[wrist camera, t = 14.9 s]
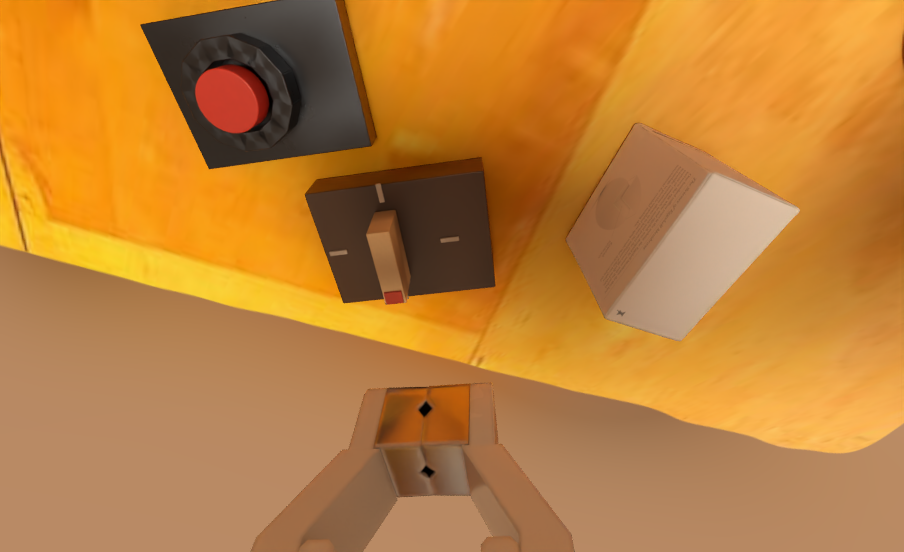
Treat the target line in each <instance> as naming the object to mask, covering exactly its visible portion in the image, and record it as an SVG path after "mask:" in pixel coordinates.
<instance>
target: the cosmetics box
mask: <svg viewBox="0 0 904 552" xmlns="http://www.w3.org/2000/svg"><path fill="white" fill-rule="evenodd" d="M799 211H800V209H799V208H798V207H797V206H795V205H793V204H791V203H790V202H788V201H786V200H784V199H783V198H781V197H779V196H778V195H776V194H774V193H773V192H771V191H769V190H768V189H766V188H764V187H763V186H761V185H759V184H758V183H756V182H754V181H753V180H751V179H749V178H748V177H746V176H744V175H742V174H741V173H739V172H737V171H736V170H734V169H733V168H731V167H729V166H728V165H726V164H724V163H722V162H721V161H719V160H717V159H716V158H714V157H712V156H711V155H709V154H707V153H706V152H704V151H702V150H700V149H698V148H695V147H693V146H691V145H688V144H686V143H683V142H681V141H679V140H676V139H674V138H672V137H670V136H667V135H665V134H663V133H661V132H658V131H656V130H654V129H652V128H650V127H648V126H646V125H644V124H641V123H636V124H635V125H634V126H633V128H632V130H631V131H630V133H629V135H628V136H627V138H626V140H625V141H624V143H623V144H622V146H621V148H620V149H619V151H618V153H617V154H616V156H615V158H614V159H613V161H612V163H611V164H610V166H609V168H608V169H607V171H606V173H605V174H604V176H603V178H602V179H601V181H600V183H599V184H598V186H597V188H596V189H595V191H594V193H593V194H592V196H591V198H590V199H589V201H588V203H587V204H586V206H585V208H584V209H583V211H582V213H581V215H580V216H579V218H578V220H577V221H576V223H575V225H574V226H573V228H572V230H571V231H570V233H569V235H568V236H567V238H566V242H567V244H568V246H569V248H570V249H571V251H572V253H573V255H574V257H575V259H576V261H577V263H578V265H579V266H580V268H581V270H582V272H583V274H584V276H585V278H586V280H587V282H588V284H589V287H590V289H591V291H592V293H593V295H594V297H595V299H596V301H597V303H598V305H599V307H600V309H601V311H602V313H603V316H604V318H606V319H608V320H611V321H614V322H617V323H620V324H624V325H627V326H630V327H634V328H637V329H640V330H643V331H646V332H649V333H653V334H656V335H659V336H662V337H665V338H669V339H673V340H676V341H681V340H682V339H683V338H684V337H685V336H686V335H687V334H688V333H689V332H690V331H691V330H692V328H693V327H694V326H695V325H696V324H697V323H698V322H699V321H700V320H701V318H702V317H703V316H704V315H705V314H706V313H707V312H708V311H709V310H710V309H711V308H712V306H713V305H714V304H715V303H716V302H717V301H718V300H719V299H720V298H721V297H722V295H723V294H724V293H725V292H726V291H727V290H728V289H729V288H730V287H731V285H732V284H733V283H734V282H735V281H736V280H737V279H738V278H739V277H740V276H741V275H742V274H743V272H744V271H745V270H746V269H747V268H748V267H749V266H750V265H751V264H752V262H753V261H754V260H755V259H756V258H757V257H758V256H759V255H760V254H761V253H762V252H763V251H764V249H765V248H766V247H767V246H768V245H769V244H770V243H771V242H772V241H773V240H774V239H775V237H776V236H777V235H778V234H779V233H780V232H781V231H782V230H783V229H784V228H785V227H786V225H787V224H788V223H789V222H790V221H791V220H792V219H793V218H794V217H795V216H796V215H797V214H798V213H799Z"/></svg>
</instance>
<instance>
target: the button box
mask: <svg viewBox="0 0 904 552" xmlns="http://www.w3.org/2000/svg"><path fill="white" fill-rule="evenodd" d="M141 28H142V30H143V32H144V34H145V36H146V38H147V40H148V42H149V44H150V46H151V49H152V51H153V53H154V55H155V57H156V59H157V61H158V63H159V65H160V67H161V69H162V72H163V74H164V76H165V78H166V80H167V82H168V84H169V86H170V88H171V90H172V92H173V95H174V97H175V99H176V101H177V103H178V105H179V107H180V109H181V111H182V113H183V115H184V118H185V120H186V122H187V124H188V126H189V128H190V130H191V132H192V134H193V136H194V138H195V141H196V143H197V145H198V147H199V149H200V151H201V153H202V155H203V157H204V159H205V162H206V164H207V166H208V168H209V169H214V168H221V167H228V166H235V165H242V164H249V163H256V162H263V161H270V160H277V159H284V158H291V157H298V156H306V155H313V154H320V153H327V152H334V151H341V150H348V149H355V148H362V147H369V146H372V144H373V142H374V141H375V139H376V133H375V129H374V125H373V121H372V116H371V112H370V108H369V104H368V100H367V95H366V91H365V87H364V83H363V79H362V74H361V70H360V66H359V62H358V58H357V53H356V49H355V45H354V41H353V37H352V33H351V28H350V24H349V20H348V16H347V12H346V7H345V3H344V0H276V1H270V2H265V3H259V4H253V5H248V6H242V7H236V8H231V9H225V10H219V11H214V12H208V13H202V14H197V15H191V16H185V17H180V18H174V19H168V20H163V21H157V22H151V23H146V24H141ZM228 64H234V65H239V66H242V67H244V68H246V69H248V70H250V71H251V72H252V73H254V74H255V75H256V76H257V77H258V78H259V79H260V81H261V82H262V83H263V85H264V87H265V89H266V91H267V94H268V98H269V110H268V113H267V116H266V117H265V119H264V120H263V121H262V122H261V123H259V124H258V125H256V126H255V127H253V128H251V129H250V130H248V131H246V132H243V133H230V132H226V131H223V130H221V129H219V128H217V127H216V126H214V125H213V124H212V123H211V122H209V120H208V119H207V118H206V117H205V116H204V115H203V113H202V112H201V110H200V108H199V106H198V103H197V100H196V94H195V89H196V84H197V81H198V79H199V77H200V76H201V75H202V74H203V73H204V72H205V71H207V70H209V69H213V68H216V67H220V66H223V65H228Z"/></svg>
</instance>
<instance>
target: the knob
mask: <svg viewBox="0 0 904 552" xmlns="http://www.w3.org/2000/svg"><path fill="white" fill-rule="evenodd" d="M366 236H367V240H368V243H369V247H370V250H371V254H372V257H373V261H374V265H375V268H376V272H377V275H378V279H379V282H380V286H381V289H382V293H383V297H384V300H385V304H386V305H387V304H397V303H406V302H407V296H408V290H409V284H410V278H411V275H410V271H409V267H408V262H407V258H406V253H405V249H404V245H403V240H402V236H401V232H400V227H399V223H398V218H397V214H396V210H389V211H381V212H375V213H374V215H373V218H372V220H371V223H370V226H369V228H368V231H367V233H366Z"/></svg>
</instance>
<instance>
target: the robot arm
mask: <svg viewBox="0 0 904 552" xmlns="http://www.w3.org/2000/svg"><path fill="white" fill-rule="evenodd" d="M431 495H464V496H465V495H466V496H468V495H469V496H471V498H472V500H473V502H474V503H475V505H476V507H477V509H478V511H479V512H480V514H481V516H482V518H483V520H484V521H485V523H486V525H487V527H488V529H489V530H490V532H491V534H492V536H493V537H487V538H486V539H485V541H484V542H483V543H482V544H481V552H575V551H574V546H573V540H572V535H571V533H570V532H569V530H568V529H567V528H566V526H565V525H564V524H563V523H562V521H561V520H560V519H559V517H558V516H557V515H556V513H555V512H554V511H553V510H552V508H551V507H550V506H549V504H548V503H547V502H546V500H545V499H544V498H543V497H542V495H541V494H540V493H539V491H538V490H537V489H536V488H535V486H534V485H533V484H532V482H531V481H530V480H529V478H528V477H527V476H526V475H525V473H524V472H523V471H522V469H521V468H520V467H519V466H518V464H517V463H516V462H515V460H514V459H513V458H512V456H511V455H510V454H509V453H508V451H507V450H506V449H505V447H504V446H503V445H502V444H498V434H497V424H496V413H495V403H494V393H493V385H492V383H475V384H456V385H440V386H429V387H405V388H382V389H380V388H379V389H368V390H367V391H366V393H365V394H364V397H363V401H362V404H361V408H360V411H359V415H358V418H357V422H356V425H355V429H354V432H353V436H352V439H351V443H350V446H349V449H348V450H342V451H341V452H340V453H339V454H338V455H337V456H336V457H335V458H334V459H333V460H332V461H331V462H330V463H329V464H328V465H327V466H326V467H325V468H324V469H323V470H322V471H321V472H320V473H319V474H318V475H317V476H316V477H315V478H314V479H313V480H312V481H311V482H310V484H309V485H307V486H306V487H305V488H304V489H303V491H301V493H300V494H299V495H298V496H297V497H296V498H295V499H294V500H293V501H292V502H291V503H290V504H289V505H288V506H287V507H286V508H285V509H284V510H283V511H282V512H281V513H280V514H279V515H278V516H277V517H276V518H275V519H274V520H273V521H272V522H271V523H270V524H269V525H268V526H267V527H266V528H265V529H264V530H263V531H262V532H261V533H260V534H259V535H258V536H257V537H256V539H255V542H254V544H253V547H252V549H251V552H363V551H364V549H365V548H366V546H367V545H368V543H369V542H370V540H371V539H372V537H373V536H374V534H375V533H376V531H377V530H378V528H379V527H380V525H381V524H382V522H383V521H384V519H385V518H386V516H387V515H388V513H389V512H390V510H391V509H392V507H393V506H394V504H395V503H396V501H397V497H413V496H431Z"/></svg>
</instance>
